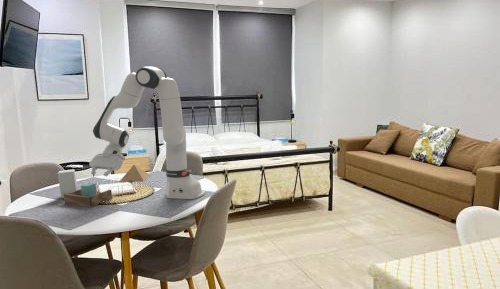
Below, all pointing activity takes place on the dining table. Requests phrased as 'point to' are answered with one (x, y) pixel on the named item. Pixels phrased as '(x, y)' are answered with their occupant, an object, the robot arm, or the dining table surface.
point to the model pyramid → (135, 175)
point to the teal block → (88, 189)
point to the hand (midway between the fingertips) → (98, 174)
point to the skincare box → (67, 181)
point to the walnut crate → (86, 198)
